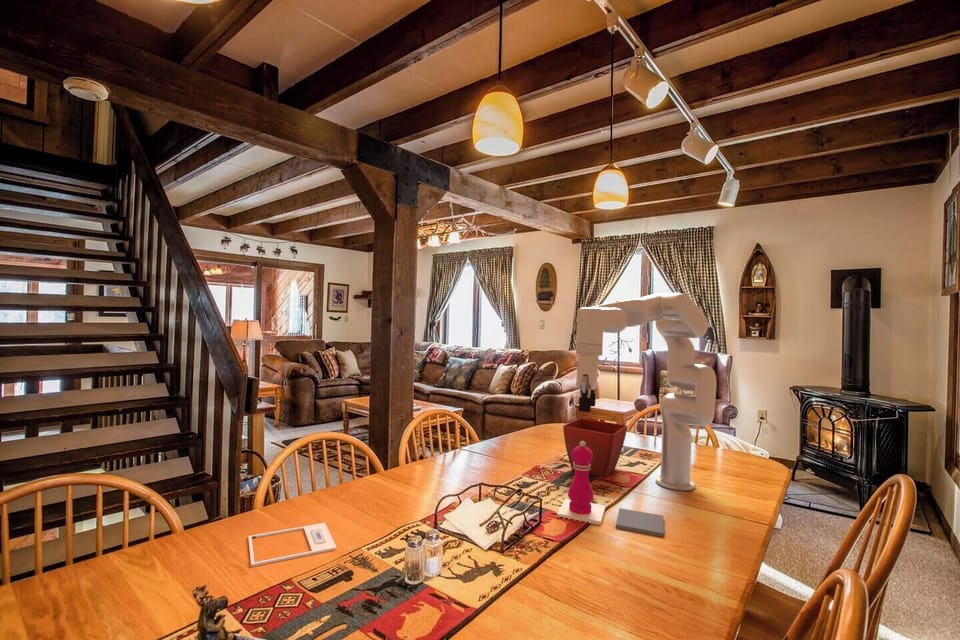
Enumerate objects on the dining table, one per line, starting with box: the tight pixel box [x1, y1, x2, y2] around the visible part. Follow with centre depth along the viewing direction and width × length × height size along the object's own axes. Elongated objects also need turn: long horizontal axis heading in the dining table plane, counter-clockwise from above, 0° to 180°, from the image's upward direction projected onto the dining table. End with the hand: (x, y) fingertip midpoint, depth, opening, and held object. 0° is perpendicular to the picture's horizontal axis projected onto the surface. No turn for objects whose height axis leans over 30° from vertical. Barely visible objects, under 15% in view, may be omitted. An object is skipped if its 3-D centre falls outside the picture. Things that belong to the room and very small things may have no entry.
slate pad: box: [615, 507, 665, 538], centre depth 129 cm, size 12×12×1 cm
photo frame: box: [247, 522, 337, 567], centre depth 111 cm, size 15×1×18 cm
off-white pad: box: [556, 498, 606, 526], centre depth 135 cm, size 12×12×1 cm
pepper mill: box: [567, 441, 595, 514], centre depth 134 cm, size 7×7×20 cm
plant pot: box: [562, 417, 628, 478], centre depth 175 cm, size 19×19×17 cm
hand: (587, 408), depth 135 cm, fingers open, 9 cm apart
